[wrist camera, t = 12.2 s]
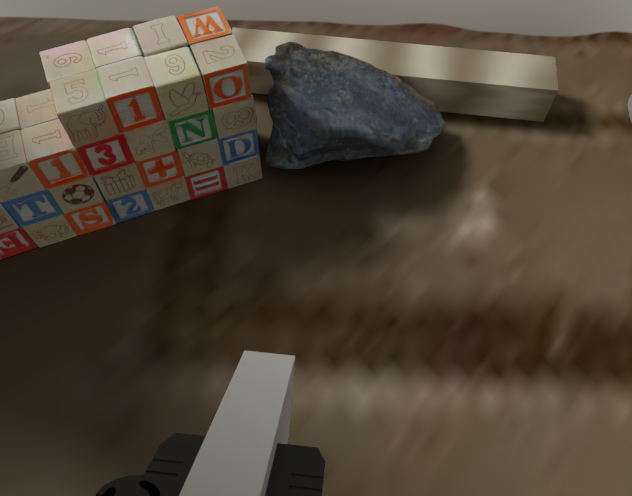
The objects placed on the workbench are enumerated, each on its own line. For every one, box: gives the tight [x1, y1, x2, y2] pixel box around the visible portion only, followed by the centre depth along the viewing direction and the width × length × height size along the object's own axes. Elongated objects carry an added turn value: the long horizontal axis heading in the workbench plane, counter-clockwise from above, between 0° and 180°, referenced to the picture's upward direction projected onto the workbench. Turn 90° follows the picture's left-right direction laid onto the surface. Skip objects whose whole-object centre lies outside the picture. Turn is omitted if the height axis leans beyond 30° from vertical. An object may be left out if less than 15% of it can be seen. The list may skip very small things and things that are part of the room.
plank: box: [232, 28, 559, 122], centre depth 51 cm, size 28×4×4 cm, turn 82°
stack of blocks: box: [0, 7, 263, 260], centre depth 41 cm, size 21×6×12 cm, turn 112°
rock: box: [264, 42, 445, 169], centre depth 47 cm, size 16×8×10 cm
